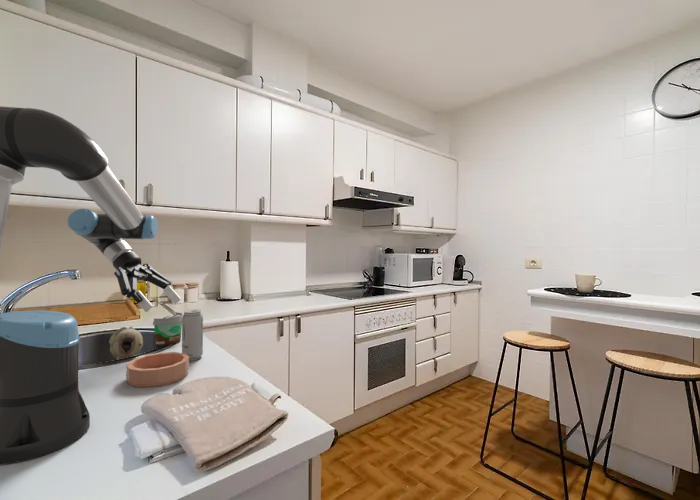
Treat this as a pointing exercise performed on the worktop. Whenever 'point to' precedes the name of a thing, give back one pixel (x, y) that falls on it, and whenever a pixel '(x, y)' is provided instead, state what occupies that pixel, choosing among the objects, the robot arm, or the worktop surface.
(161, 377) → the terracotta bowl
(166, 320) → the food container
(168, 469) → the worktop surface
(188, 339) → the energy drink can
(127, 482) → the worktop surface
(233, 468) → the worktop surface
